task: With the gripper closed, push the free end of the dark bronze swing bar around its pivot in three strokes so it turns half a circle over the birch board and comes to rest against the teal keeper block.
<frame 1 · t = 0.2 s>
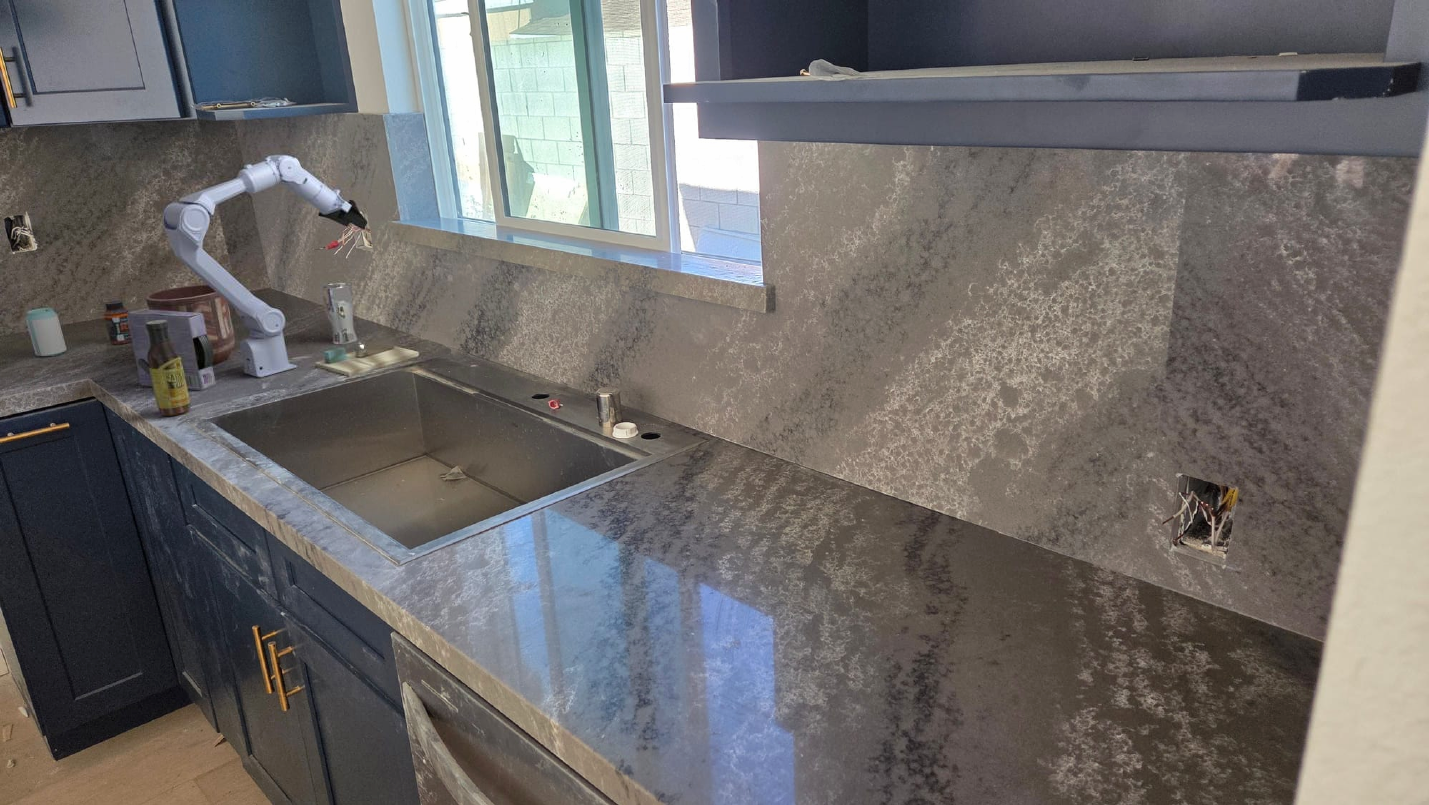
hand: (357, 224, 251), 31 cm above the worktop, tool tilted 45°, fingers open, 7 cm apart
can: (52, 354, 266), on the worktop
sauce bottle: (176, 413, 214), on the worktop
pottery: (203, 362, 252), on the worktop
supplement bottle: (123, 342, 275), on the worktop
beer glass: (345, 342, 263), on the worktop
cake pan box: (181, 386, 233), on the worktop
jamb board: (367, 361, 244), on the worktop
swing bar: (373, 345, 246), point 3 cm above the worktop, hinge at 0.0°
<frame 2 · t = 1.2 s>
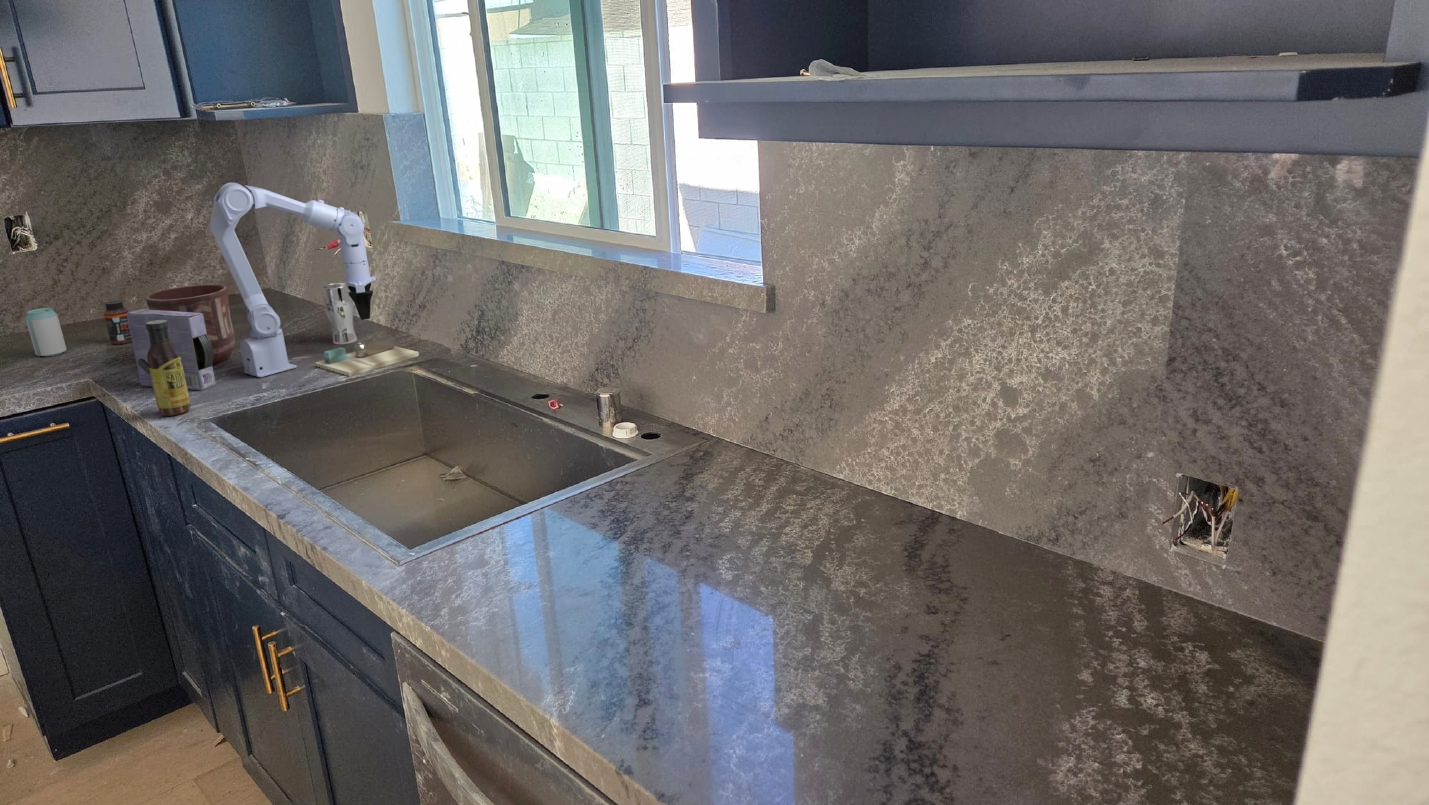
hand: (364, 315, 249), 9 cm above the worktop, tool pointing down, fingers open, 7 cm apart
nothing on the worktop moved.
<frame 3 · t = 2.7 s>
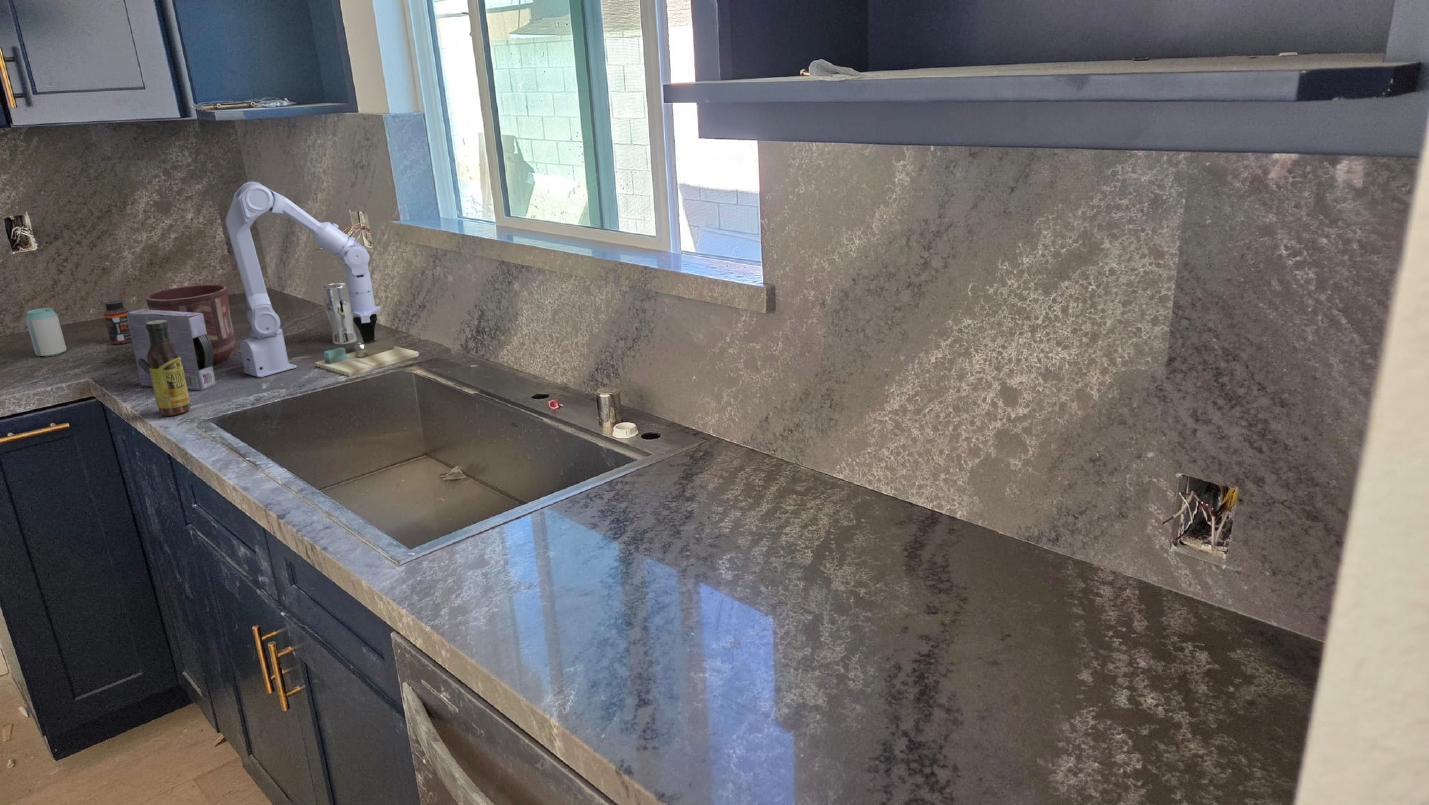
hand: (369, 344, 251), 2 cm above the worktop, tool pointing down, fingers closed
nothing on the worktop moved.
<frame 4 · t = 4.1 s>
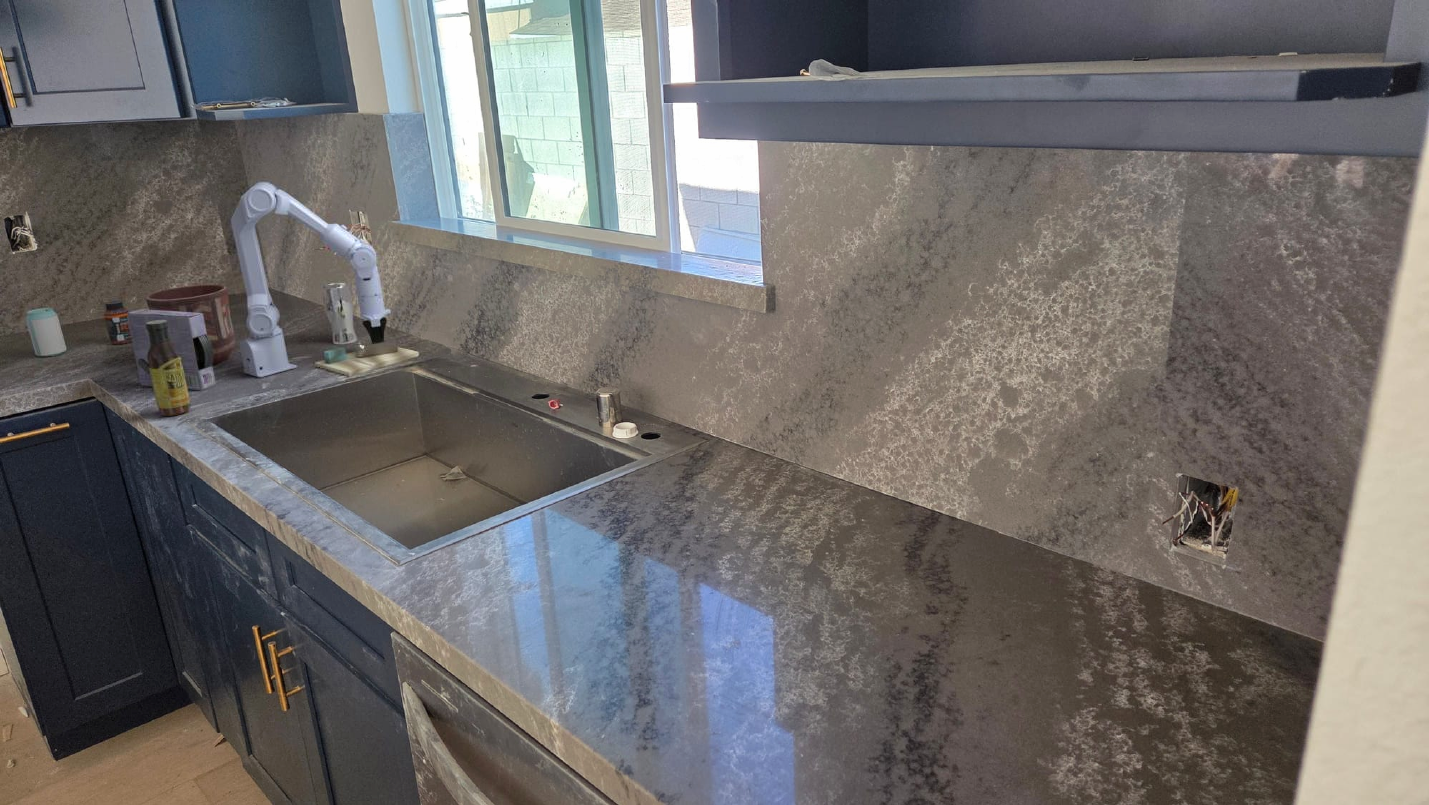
hand: (379, 348, 247), 2 cm above the worktop, tool pointing down, fingers closed, pressing on swing bar
swing bar: (375, 347, 245), point 3 cm above the worktop, hinge at 25.2°, touching gripper
everything else where it was.
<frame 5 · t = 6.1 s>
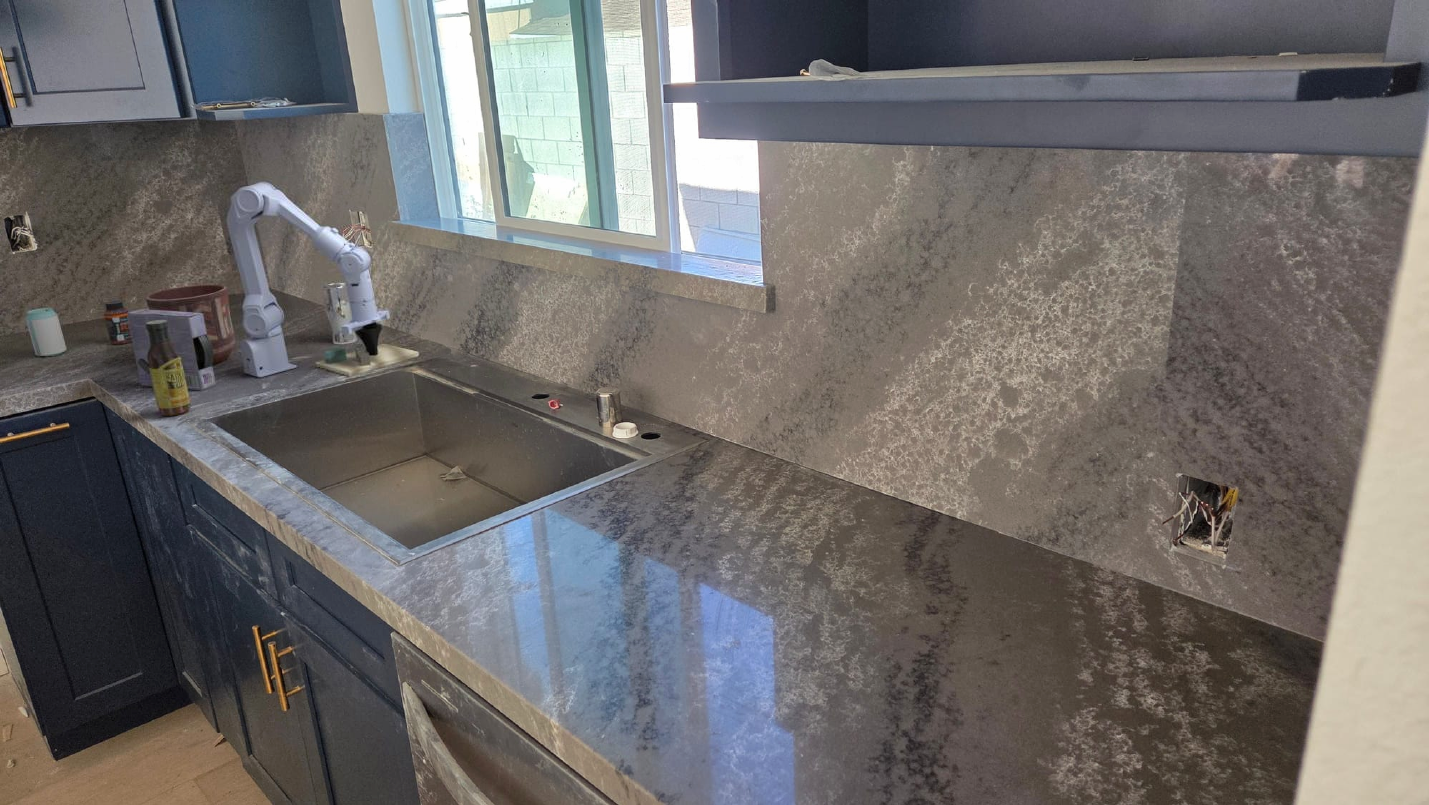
hand: (372, 355, 241), 2 cm above the worktop, tool pointing down, fingers closed, pressing on swing bar
swing bar: (362, 352, 241), point 3 cm above the worktop, hinge at 115.4°, touching gripper
everything else where it was.
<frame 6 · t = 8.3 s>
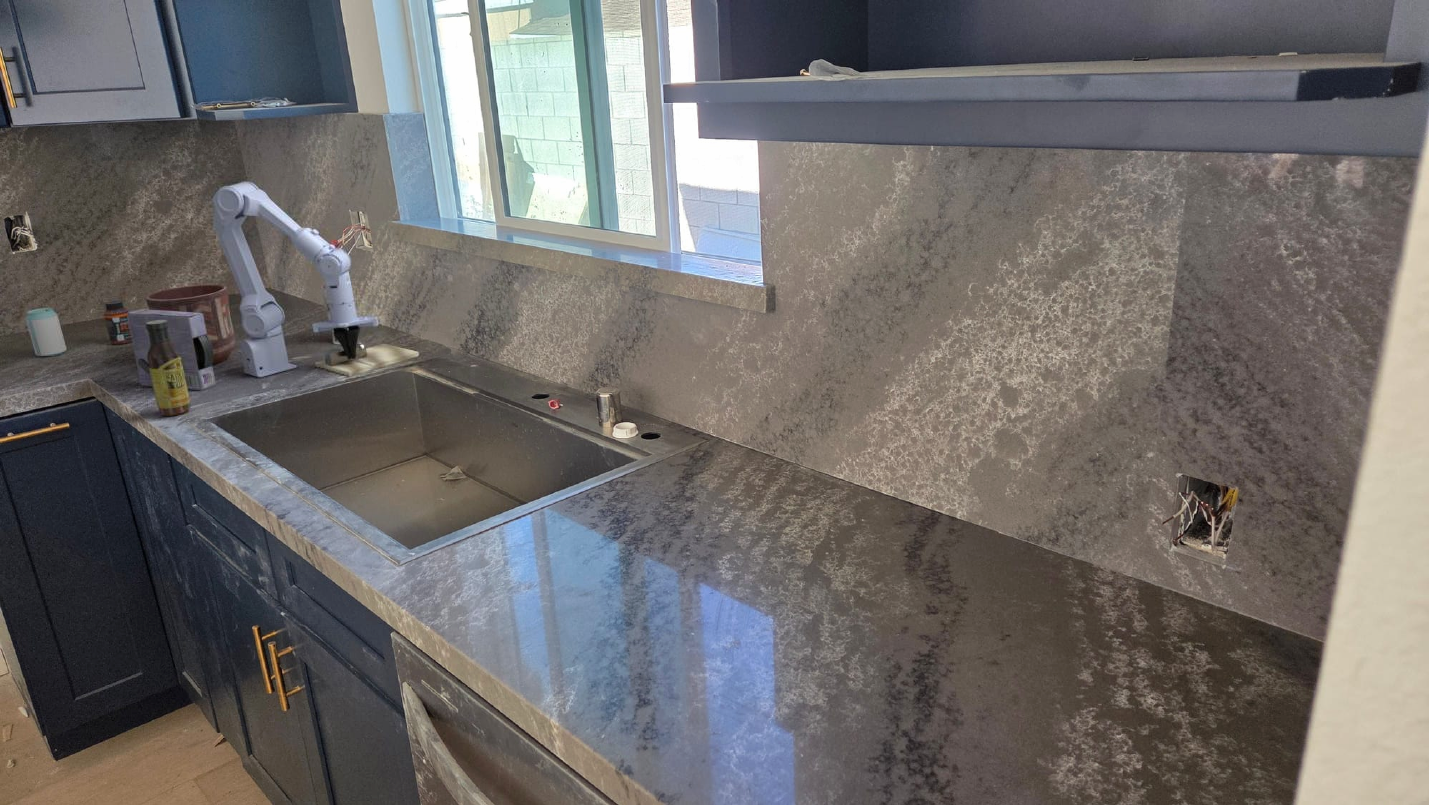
hand: (352, 357, 239), 2 cm above the worktop, tool pointing down, fingers closed, pressing on swing bar
swing bar: (347, 353, 241), point 3 cm above the worktop, hinge at 180.4°, touching gripper
everything else where it was.
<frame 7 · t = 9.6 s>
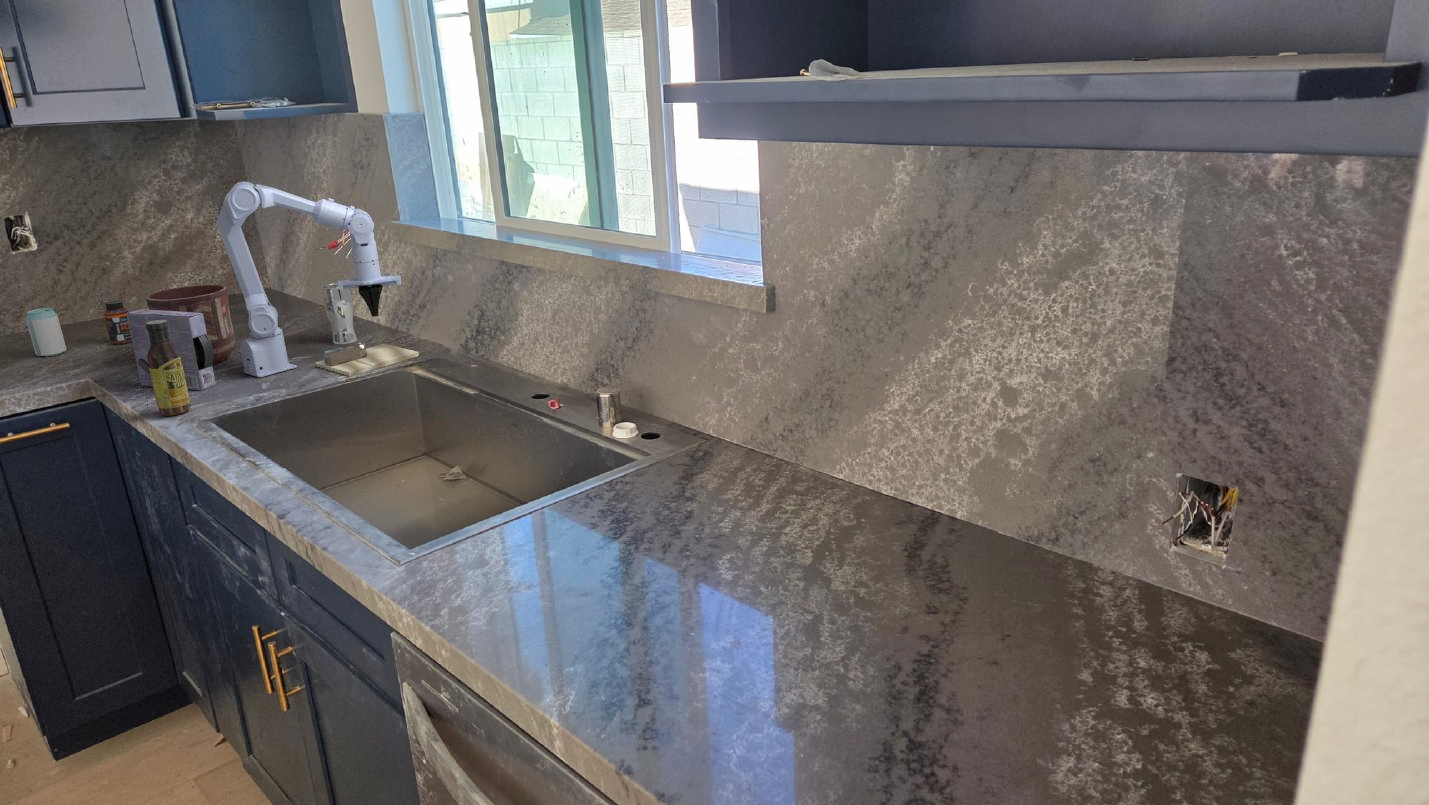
hand: (375, 315, 246), 10 cm above the worktop, tool pointing down, fingers closed
swing bar: (347, 353, 241), point 3 cm above the worktop, hinge at 180.5°
everything else where it was.
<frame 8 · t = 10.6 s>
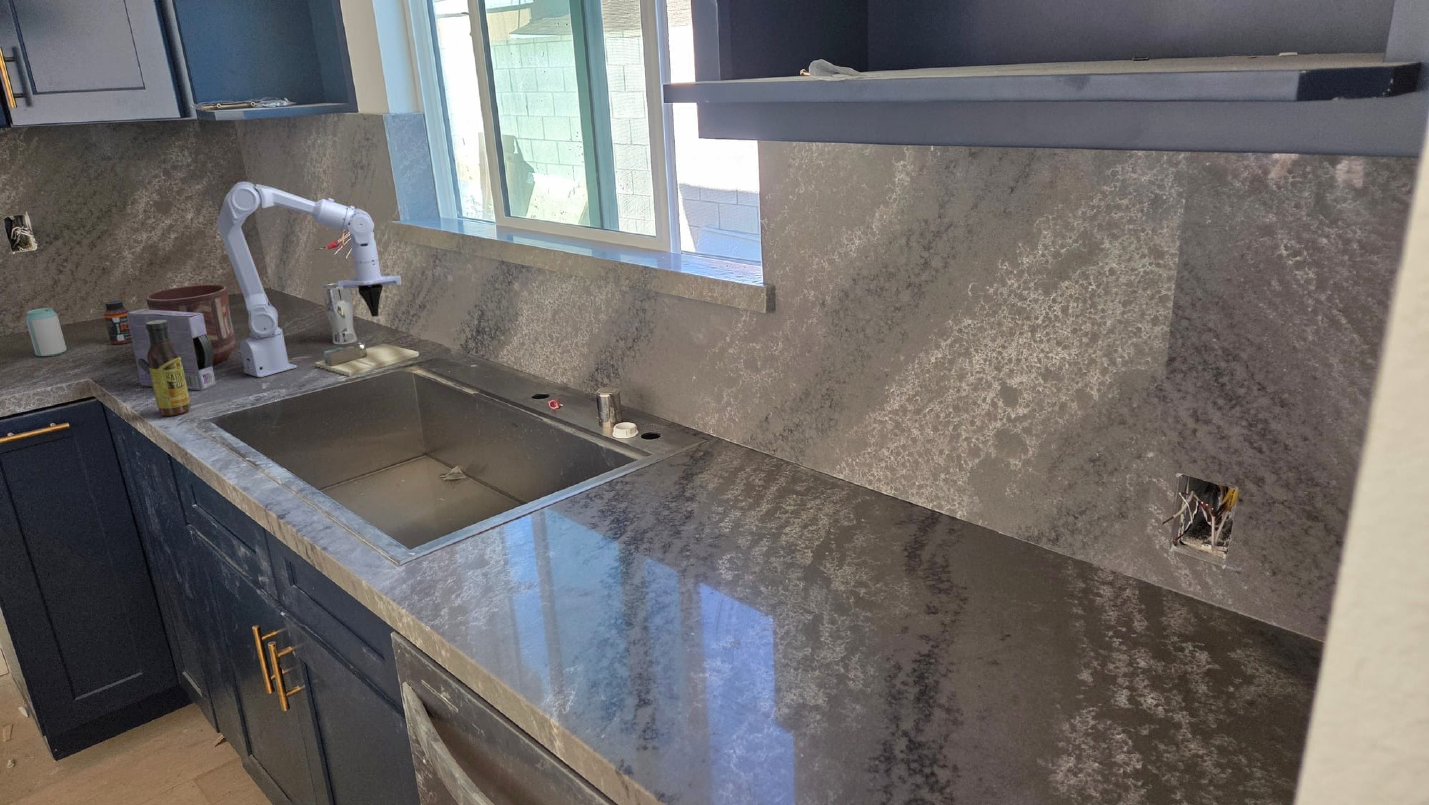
hand: (375, 315, 246), 10 cm above the worktop, tool pointing down, fingers closed
nothing on the worktop moved.
at the end: swing bar at +180° (first picture: +0°); swing bar touching nothing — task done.
